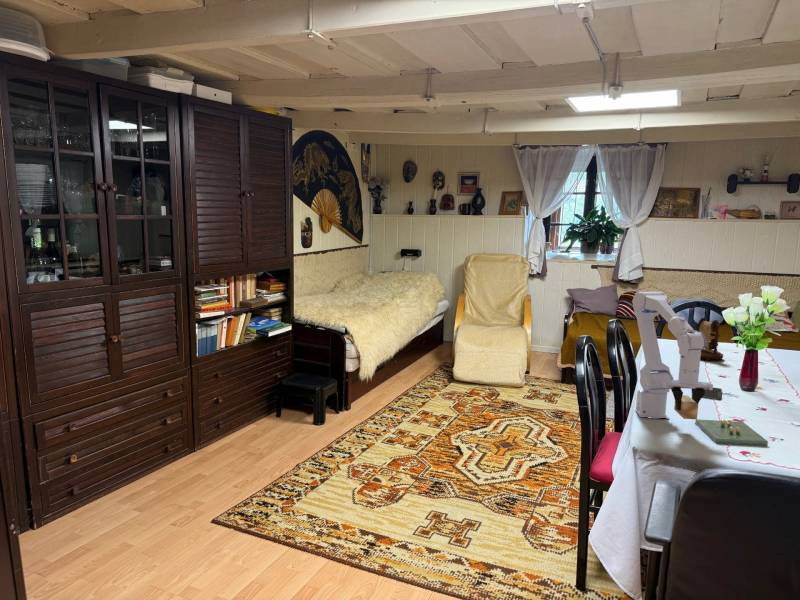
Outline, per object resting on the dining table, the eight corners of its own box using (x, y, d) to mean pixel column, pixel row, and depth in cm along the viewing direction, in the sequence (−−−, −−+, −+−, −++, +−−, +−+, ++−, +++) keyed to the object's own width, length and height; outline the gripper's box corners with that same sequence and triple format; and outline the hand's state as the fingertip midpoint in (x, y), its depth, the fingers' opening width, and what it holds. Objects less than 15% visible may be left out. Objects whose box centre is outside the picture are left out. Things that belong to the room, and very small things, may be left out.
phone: (698, 395, 223) (700, 385, 236) (698, 398, 224) (700, 388, 236) (721, 398, 220) (722, 388, 232) (721, 401, 220) (722, 391, 233)
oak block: (683, 418, 182) (685, 403, 181) (674, 409, 191) (675, 394, 190) (697, 419, 182) (698, 404, 181) (686, 409, 190) (688, 395, 190)
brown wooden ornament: (682, 356, 290) (686, 317, 287) (702, 353, 296) (706, 315, 293) (709, 363, 276) (712, 322, 273) (729, 360, 282) (733, 320, 280)
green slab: (715, 442, 178) (716, 432, 177) (695, 423, 195) (696, 413, 194) (767, 445, 176) (768, 435, 175) (742, 426, 193) (743, 416, 192)
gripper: (669, 371, 181) (666, 412, 183) (718, 373, 179) (714, 415, 181) (662, 365, 188) (659, 405, 190) (709, 367, 186) (705, 407, 188)
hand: (685, 409), depth 186 cm, fingers closed on oak block, 4 cm apart
